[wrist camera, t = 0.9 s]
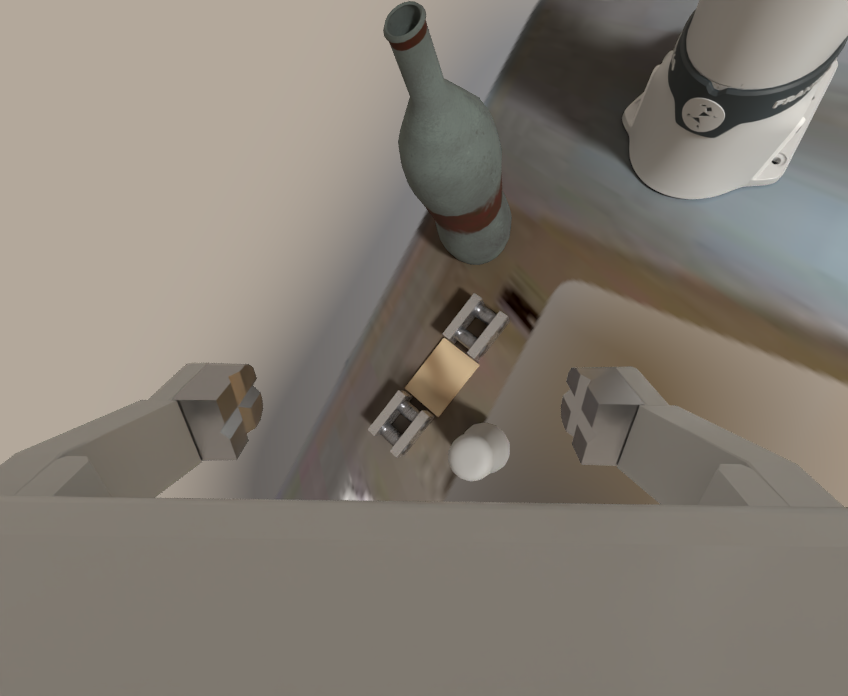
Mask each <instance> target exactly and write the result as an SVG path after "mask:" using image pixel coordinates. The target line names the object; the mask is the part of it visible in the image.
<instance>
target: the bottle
mask: <svg viewBox="0 0 848 696" xmlns="http://www.w3.org/2000/svg"><path fill="white" fill-rule="evenodd" d="M425 19H426V12H425V9H424V8H423V6H422V5H420V4H418V3H416V2H411V1H409V2H404V3H402V4H400V5H398V6H397V7H396V8H394V9H393V10H392V11H391V12H390V13H389V15H388V16H387V18H386V20H385V25H384V30H383V31H384V36H385V38H386V39H387V40H388V41H389V43H390V45H391V48H392V50H393V53H394V56H395V58H396V61H397V63H398V66H399V69H400V71H401V74H402V77H403V79H404V82H405V84H406V87H407V90H408V92H409V95H410V99H409V102H408V105H407V109H406V112H405V116H404V119H403V122H402V126H401V129H400V135H399V141H398V144H399V152H400V158H401V163H402V168H403V171H404V173H405V176H406V179H407V182H408V183H409V186H410V187H411V189H412V191H413V192H414V194H415V195H416V196H417V198H418V199H419V200H420V201H421V202H422V203H423V204H424V206H425V207H426V209H427V210H428V211H429V213H430V214H431V215H432V217H433V218H434V220H435V222H436V226H437V231H438V234H439V237H440V240H441V242H442V243H443V245H444V247H445V248H446V249H447V250H448V251H449V252H450V253H451V254H452V255H453V256H454V257H455V258H457V259H458V260H460V261H462V262H465V263H468V264H476V265H480V264H483V263H487V262H489V261H491V260H493V259H494V258H496V257H497V256H498V255H499V254H500V253H501V252H502V251H503V249H504V247H505V245H506V243H507V241H508V239H509V236H510V229H511V218H512V217H511V212H510V208H509V205H508V202H507V200H506V197H505V195H504V193H503V191H502V172H501V161H502V148H501V144H500V140H499V136H498V133H497V130H496V127H495V124H494V121H493V118H492V116H491V114H490V113H489V111H488V109H487V108H486V106H485V105H484V104H483V102H482V101H481V100H480V98H479V97H477V96H475V95H473V94H472V93H470V92H468V91H467V90H465V89H463V88H461V87H459V86H457V85H455V84H454V83H452V82H450V81H448V80H446V79H444V78H443V75H442V71H441V68H440V65H439V62H438V58H437V55H436V52H435V49H434V46H433V43H432V39H431V36H430V33H429V29H428V26H427V23H426V20H425Z"/></svg>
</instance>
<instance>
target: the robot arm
mask: <svg viewBox="0 0 848 696" xmlns="http://www.w3.org/2000/svg"><path fill="white" fill-rule="evenodd" d="M847 39H848V0H699V3H698V6H697V8H696V10H695V11H694V12H693V13H692V14H691V16H690V17H689V19H688V21H687V23H686V24H685V27H684V29H683V31H682V32H681V34H680V36H679V38H678V40H677V43H676V45H675V48H674V51H673V50H671V51H670V52H669V53H668V54H667V55H666V56H665V58H664V59H663V62H662V64H661V65H657V66H656V67H655V68H654V70H653V72H652V74H651V76H650V79H649V81H648V84H647V86H646V88H645V91H644V92H643V93H642V94H641V95H640V96H639V97H638V98H637V99H636V100H634V101H633V102H632V103H631V104H630V105H629V106H628V107H627V108H626V109H625V112H624V114H623V116H622V122H623V124H624V127H625V129H626V131H627V132H628V134H629V140H630V144H629V154H630V160H631V163H632V166H633V168H634V170H635V172H636V174H637V175H638V176H639V178H640V179H641V180H642V181H643V182H644V183H645V184H647V185H648V186H649V187H651V188H652V189H654V190H656V191H658V192H660V193H662V194H665V195H668V196H671V197H676V198H683V199H702V198H709V197H714V196H718V195H721V194H724V193H727V192H729V191H732V190H734V189H737V188H740V187H744V186H760V185H768V184H772V183H775V182H776V181H778V180H779V179H780V177H781V176H782V175H783V174H784V172H785V170H786V168H787V166H788V164H789V162H790V160H791V158H792V156H793V154H794V152H795V150H796V149H797V147H798V145H799V143H800V141H801V139H802V137H803V135H804V133H805V131H806V129H807V127H808V125H809V123H810V121H811V119H812V117H813V115H814V113H815V111H816V109H817V107H818V105H819V103H820V101H821V99H822V97H823V95H824V93H825V91H826V89H827V87H828V85H829V83H830V81H831V79H832V77H833V75H834V74H835V71H836V69H837V67H838V62H837V60H836V59H837V57H838V55H839V54H840V52H841V51H842V49H843V48H844V46H845V43H846V41H847ZM772 161H774V162H776V163H777V164H773V163H772ZM256 379H257V378H256V374H255V372H254V368H253V367H252V366H251V365H249V364H224V363H189V364H186V365H185V366H184V367H183V368H182V369H181V370H179V371H178V372H177V373H176V374H175V375H174V376H173V377H172V378H171V379H170V380H169V381H168V382H167V383H165V384H164V385H163V386H162V387H161V388H160V389H159V390H158V391H157V392H156V393H155V394H154V395H153V396H151V398H149V399H148V400H140V401H138V402H135V403H133V404H131V405H128V406H126V407H124V408H121V409H119V410H117V411H114V412H112V413H110V414H108V415H105V416H103V417H100V418H98V419H95V420H93V421H91V422H88V423H86V424H84V425H81V426H79V427H77V428H74V429H72V430H70V431H67V432H65V433H63V434H60V435H58V436H56V437H53V438H51V439H49V440H47V441H44V442H42V443H39V444H37V445H35V446H32V447H30V448H27V449H25V450H23V451H20V452H18V453H16V454H14V455H13V456H12V457H11V458H9V459H8V460H7V461H5V462H4V463H3V464H1V465H0V696H848V507H844V506H843V505H842V504H840V503H839V502H838V501H837V500H836V499H835V498H834V497H833V496H832V495H831V494H830V493H828V492H827V491H826V490H825V489H824V488H823V487H822V486H821V485H820V484H818V483H817V482H816V481H815V480H814V479H813V478H812V477H811V476H810V475H808V474H807V473H806V472H805V471H804V470H803V469H802V468H801V467H800V466H799V465H797V464H796V463H794V462H792V461H790V460H788V459H786V458H784V457H781V456H779V455H777V454H775V453H773V452H771V451H769V450H767V449H765V448H763V447H761V446H759V445H757V444H754V443H752V442H750V441H748V440H746V439H744V438H742V437H740V436H738V435H736V434H734V433H732V432H730V431H728V430H726V429H723V428H721V427H719V426H717V425H715V424H713V423H711V422H709V421H707V420H705V419H703V418H701V417H699V416H697V415H695V414H693V413H690V412H688V411H686V410H684V409H682V408H680V407H678V406H670V405H669V404H668V403H667V402H666V401H665V400H664V399H663V398H662V396H661V395H660V394H659V393H658V392H657V391H656V390H655V389H654V387H652V385H651V384H650V383H649V382H648V381H647V380H646V378H645V377H644V376H643V375H642V374H641V373H640V372H639V370H638V369H636V368H634V367H595V368H594V367H592V368H571V370H570V371H569V373H568V377H567V381H566V382H567V384H568V385H569V387H570V390H569V391H568V392H567V393H566V394H565V395H563V399H562V404H561V418H562V422H563V425H564V428H565V430H566V432H568V433H569V434H571V435H572V436H573V437H574V438H573V442H572V445H573V447H574V450H575V452H576V454H577V456H578V458H579V460H580V463H581V464H583V465H611V466H617V468H618V469H620V470H621V471H622V472H623V473H624V474H626V475H627V476H628V477H629V478H630V479H632V480H633V481H634V482H635V483H636V484H637V485H638V486H640V487H641V488H642V489H643V490H644V491H646V492H647V493H648V494H649V495H650V496H652V497H653V498H654V499H655V500H656V501H657V502H659V503H660V504H661V505H639V504H637V505H636V504H635V505H634V504H566V503H565V504H564V503H562V504H561V503H499V502H496V503H495V502H429V501H348V500H272V499H271V500H270V499H269V500H267V499H266V500H265V499H200V498H155V497H156V496H158V495H159V494H160V493H162V492H163V491H164V490H166V489H167V488H168V487H169V486H171V485H172V484H174V483H175V482H176V481H178V480H179V479H180V478H181V477H183V476H184V475H186V474H187V473H188V472H190V471H191V470H192V469H194V468H195V467H196V466H198V465H199V464H200V463H201V462H202V461H207V460H208V461H209V460H237V459H238V457H239V456H240V454H241V452H242V451H243V449H244V447H245V446H246V444H247V442H248V441H249V440H248V436H247V433H249V432H250V431H252V430H253V429H255V428H256V427H257V425H258V424H259V422H260V420H261V416H262V411H263V401H262V396H261V393H260V392H259V391H258V390H257V389H256V388H255V387H254V386H253V384H254V382H255V381H256Z"/></svg>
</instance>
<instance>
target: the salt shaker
mask: <svg viewBox="0 0 848 696" xmlns="http://www.w3.org/2000/svg"><path fill="white" fill-rule="evenodd" d="M509 447H510V443H509V441H508V439H507V437H506V435H505V433H504V432H502V430H500V429H499V428H498V427H497V426H496V425H493V424H489V423H479V424H474V425H472V426H471V427H470V428H469V429H467V430H466V431H465V433H464V435H461V436H459V437H458V438H457V439H456V440H454V441H453V443H452V445H451V447H450V449H449V458H448V461H449V464H450V466H451V469H452V471H453V472H454V473H455V474H456V475H457V476H458V477H460V478H462V479H465V480H468V481H475V480H481V479H482V478H484V477H485V476H486V475H488V474H489V473H493V472H496V471H498V470H499V469H500V468H502V467H503V466H504V465H505V463H506V461H507V459H508V457H509V453H510V452H509V450H510V448H509Z"/></svg>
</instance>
